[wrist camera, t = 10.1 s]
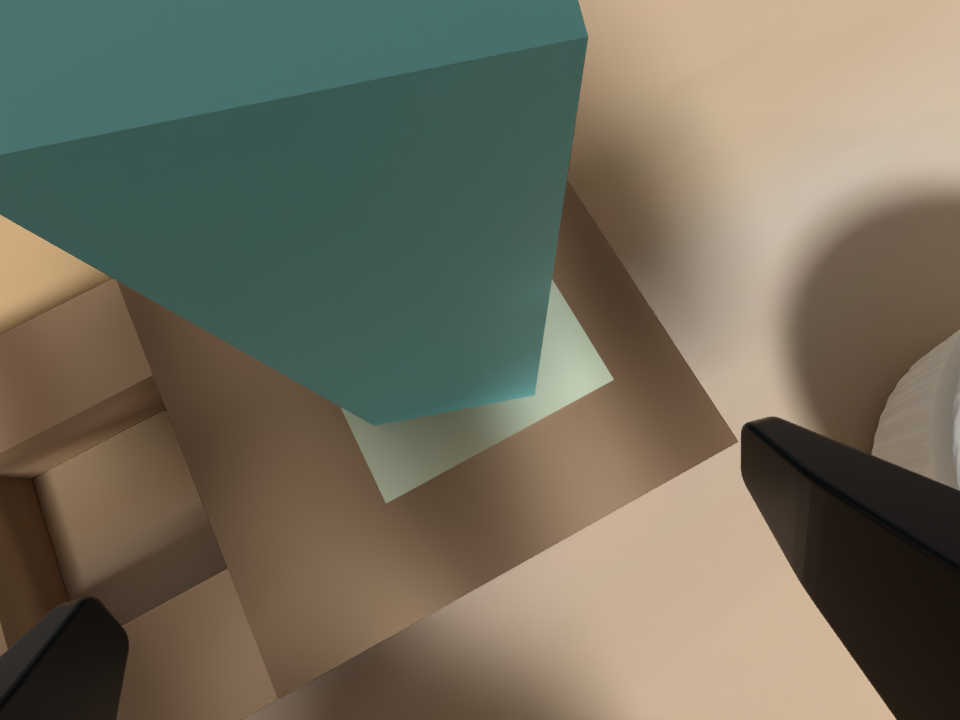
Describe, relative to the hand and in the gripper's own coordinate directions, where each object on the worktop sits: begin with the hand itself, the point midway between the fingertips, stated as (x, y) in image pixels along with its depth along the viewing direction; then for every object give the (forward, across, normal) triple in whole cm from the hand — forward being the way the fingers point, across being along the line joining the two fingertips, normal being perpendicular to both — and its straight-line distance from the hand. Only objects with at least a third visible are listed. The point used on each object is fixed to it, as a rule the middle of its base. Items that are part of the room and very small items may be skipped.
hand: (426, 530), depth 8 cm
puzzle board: (+10, +5, +4) cm, 12 cm away
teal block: (+9, 0, +2) cm, 9 cm away
